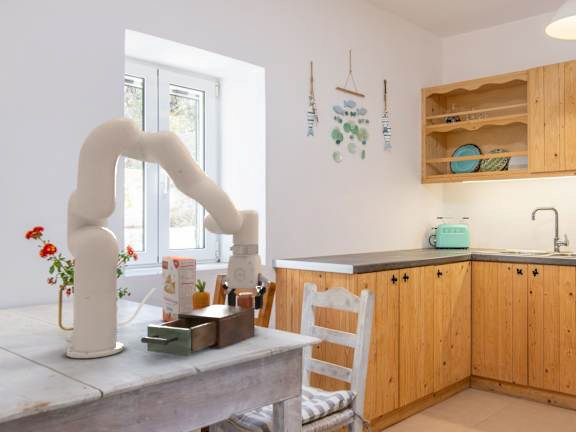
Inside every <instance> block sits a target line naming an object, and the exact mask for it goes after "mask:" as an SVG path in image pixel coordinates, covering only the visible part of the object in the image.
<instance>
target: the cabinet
mask: <svg viewBox="0 0 576 432" xmlns="http://www.w3.org/2000/svg"><path fill="white" fill-rule="evenodd" d="M255 313H256V312H255V307H254V308H253V307H240V306H237V305H236V306H228V304H227V305H226V304H212V305H210V306H208V307H204V308H200V309H196V310H192V311H188V312H184V313H180V314H178V319H181V318H185V317H186V318H196V319H207V320H218V321H217V343H216V344H213V345H210V346H208V347H207V348H208V349H209V348H210V349H218V350H220V349H224V348H225V347H228V346H231V345H234V344H236V343H238V342H242V341H245V340H247V339H249V338H252V337H255V315H256V314H255Z"/></svg>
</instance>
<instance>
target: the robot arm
mask: <svg viewBox="0 0 576 432" xmlns="http://www.w3.org/2000/svg"><path fill="white" fill-rule="evenodd" d="M120 157H123V158H126V159H132V160H136V161H139V162H144V163H151V164H158V165H159V166H160V168H161V169H162V170H163V171H164V173H165V174H166V175H167V177H168V178H169V179H170V181H171V182H172V183H173V185H174V186H175V188H176V189H177V190H178V191H179V192H181V193H182V194H183V195H185V196H187V197H188V198H190V199H192V200H194V201H195V202H197V204H199V205H200V206H201V207H202V208H203V209H204V210H205V211H206V212H207V213H206V214H204V217H203V226H204V228H205V229H206V231H208V232H210V233H211V234H215V235H225V236H232V245H231V246H230V247H229V251H230V252H231V251H232V254H230V255H229V258H228V263H227V270H226V275H225V276H223V277H221V278H220V283H221V285H222V288H223V290H224V291H225V294H226V295H227V305H228V306H237V293H236V290H252V291H253V292H254V294H255V295H254V308H255V310H256V311H257V310H261V309H263V306H264V295H265V294H266V293H267V292H268V290H269V288H270V287H271V284H272V282H271V280H269V279H268V278H266V277H265V276H264V275H263V264H262V258H261V254H259V229H260V228H259V218H260V216H259V212H258V211H257V210H255V209H239V208H238V207H237V206H236V204H235V203H234V201H233V200H232V198H231V197H230V196H229V195H228V193H227V192H226V191H225V190H224V189H223V188H222V187H220V185H218V184H217V183H216V181H215V180H214V179H212V178H211V177H210V176H209V175H208V174H207V173H206V172H205V171H204V170H203V168H202V167H201V165H200V164H199V163H198V161H197V160H196V159H195V157H194V156H193V155H192V153H191V152H190V150H189V149H188V148H187V146H186V145H185V143H184V142H183V141H182V139H181V138H180V136H178V134H176V133H175V132H173V131H171V130H159V131H156V132H149V131H145V130H141V129H140V128H139V126H138V123H136V122H135V121H134V120H133V119H131V118H130V117H126V116H115V117H113V118H110V119H107V120H105V121H103V122H101V123H100V124H98V125H97V126H95V127H94V128H93V129H92V130H91V132H89V134H88V135H87V136H86V138H85V139H84V141H83V143H82V145H81V147H80V150H79V155H78V162H77V163H78V164H77V179H76V188H75V189H74V190H73V191H72V192H71V194H70V196H69V198H68V203H67V217H66V218H67V221H66V222H67V223H66V224H67V225H66V227H67V228H66V243H67V248H68V252H69V254H71V256H72V257H73V258H74V267H73V268H74V269H73V332H72V333H71V334H70V335H68V336H66V337H65V339H64V340H65V342H66V343H70V344H71V345H70V346H71V347H69V348H68V349H66V351H65V352H66V353H65V355H66V356H67V357H68V358H72V359H93V358H95V359H96V358H101V357H107V356H111V355H116V354H119V353H120V352H122V351H123V350H124V344H123V343H122V342H118V341H117V339H118V338H117V332H118V329H117V326H118V325H117V323H118V320H117V319H118V316H117V315H118V313H117V311H118V309H117V307H118V304H117V302H118V299H117V298H118V296H117V295H118V290H117V289H118V288H117V286H118V285H117V283H118V282H117V281H118V279H117V278H118V277H117V276H118V265H119V264H118V263H119V257H120V256H119V255H120V246H119V241H118V239H117V237H116V236H115V234H114V233H113V232H112V231H111V230H109V229H108V223H109V222H108V220H109V218H111V216H112V215H113V214H114V212H115V210H116V207H117V194H116V191H117V189H116V188H117V187H116V185H117V183H116V182H117V177H116V176H117V167H118V162H119V158H120ZM255 310H254V311H255Z"/></svg>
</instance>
